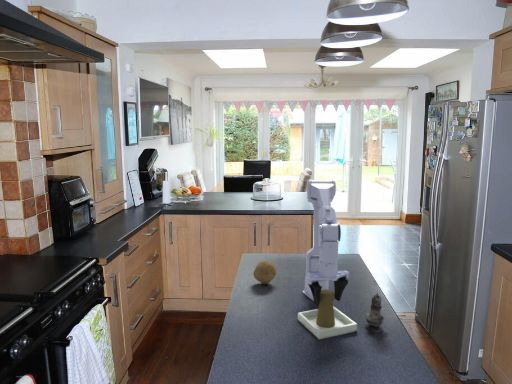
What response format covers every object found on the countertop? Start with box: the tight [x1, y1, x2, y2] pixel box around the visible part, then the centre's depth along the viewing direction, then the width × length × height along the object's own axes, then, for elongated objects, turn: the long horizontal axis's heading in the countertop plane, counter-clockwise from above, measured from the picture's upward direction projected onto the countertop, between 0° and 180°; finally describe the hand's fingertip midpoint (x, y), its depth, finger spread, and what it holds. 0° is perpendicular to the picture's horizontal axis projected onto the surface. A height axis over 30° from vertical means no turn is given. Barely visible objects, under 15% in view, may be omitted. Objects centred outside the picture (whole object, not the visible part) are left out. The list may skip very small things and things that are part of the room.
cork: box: [316, 289, 335, 328], centre depth 128 cm, size 6×6×11 cm
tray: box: [297, 305, 358, 340], centre depth 129 cm, size 14×14×2 cm
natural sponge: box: [252, 259, 277, 285], centre depth 161 cm, size 9×9×10 cm
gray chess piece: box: [364, 292, 385, 333], centre depth 126 cm, size 6×6×12 cm
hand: (327, 301), depth 128 cm, fingers open, 7 cm apart
